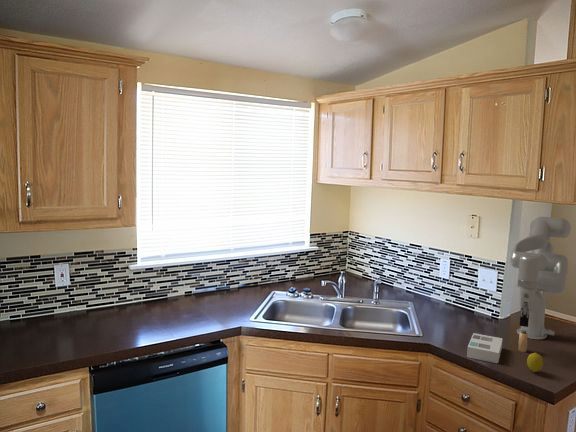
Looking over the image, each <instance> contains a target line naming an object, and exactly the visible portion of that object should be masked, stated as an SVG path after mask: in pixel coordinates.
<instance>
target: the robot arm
mask: <svg viewBox="0 0 576 432" xmlns="http://www.w3.org/2000/svg"><path fill="white" fill-rule="evenodd" d="M571 228H572V227H571V223H570V221H569V220H568V219H566V218H562V217H554V216H552V217H551V216H538V217H536V218H534V219H533V220H532V221H530V227H529V234H528V236H527V237H525V238H523V239H521V240H519V241H518V242H517V243H516V244H515V245H514V246H513V248H512V253H511V255H510V265H511V266H512V268H515V269H518V275H517V286H516V287H518V288H519V311H520V316H519V317H520V318H519V326H520V327H519V328H517V329H516V333H517V334H518V335H519V333H520V332H521V330H526V333H528V338H527V339H531V340H544V339H546V338H547V336H548V335H549V336H555V331H554V330H552V329H547V328H545V315H546V304H547V302H546V301H547V300H546V298H545V296H544V293H542V292H545V293H551V294H562V293H564V291H565V287H566V283H567V275H568V271H569V260H568V257H567V256H566V255H563V254H559V253H553V251H554V247H553V245H552V243H551V242H550V238H562V239H566V238H568V237H569V236H570V235H571V232H572V231H571V230H572V229H571Z"/></svg>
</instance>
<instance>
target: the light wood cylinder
mask: <svg viewBox="0 0 576 432" xmlns="http://www.w3.org/2000/svg"><path fill="white" fill-rule="evenodd" d="M518 337H519V338H518V348H517V350H518V352H521V353H527V352H528V351H527V348H528V339H529V338H528V333H526V330H521V332H520V333H519V334H518Z"/></svg>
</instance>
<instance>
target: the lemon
mask: <svg viewBox="0 0 576 432" xmlns="http://www.w3.org/2000/svg"><path fill="white" fill-rule="evenodd" d="M526 364H527V367H528V368H529V370H530V371H532V372H533V373H536V372H540V371H541V370H542V369H543V366H544V360H543V357H542V356H541V355H540V354H539V353H537V352H531V353H530V354H529V355H528V357H527V359H526Z"/></svg>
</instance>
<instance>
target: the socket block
mask: <svg viewBox="0 0 576 432" xmlns="http://www.w3.org/2000/svg"><path fill="white" fill-rule="evenodd" d="M502 349H503V338H501V337H497V336H490V335H486V334H485V335H484V334H480V333H475V332H473V333H472V335H471V338H470V340H469V343H468V345H467V349H466V357H467V358H469V359H473V360H479V361H484V362H487V363H493V364H497V363H498V364H499V363H500V357H501V353H502Z"/></svg>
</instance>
